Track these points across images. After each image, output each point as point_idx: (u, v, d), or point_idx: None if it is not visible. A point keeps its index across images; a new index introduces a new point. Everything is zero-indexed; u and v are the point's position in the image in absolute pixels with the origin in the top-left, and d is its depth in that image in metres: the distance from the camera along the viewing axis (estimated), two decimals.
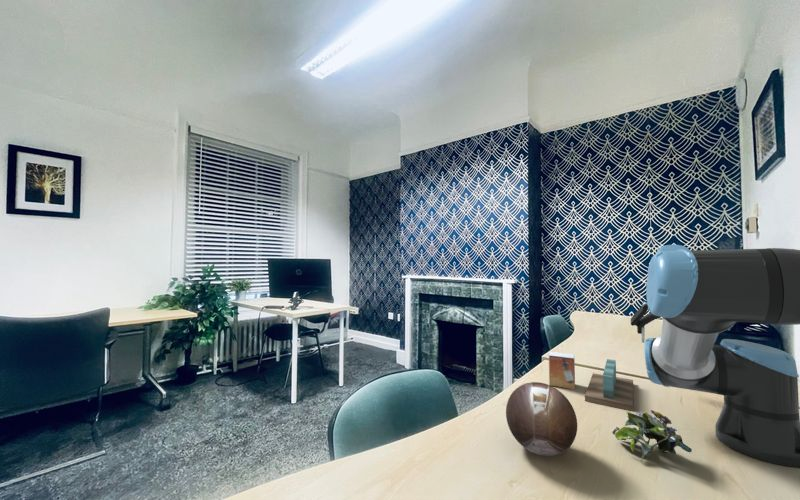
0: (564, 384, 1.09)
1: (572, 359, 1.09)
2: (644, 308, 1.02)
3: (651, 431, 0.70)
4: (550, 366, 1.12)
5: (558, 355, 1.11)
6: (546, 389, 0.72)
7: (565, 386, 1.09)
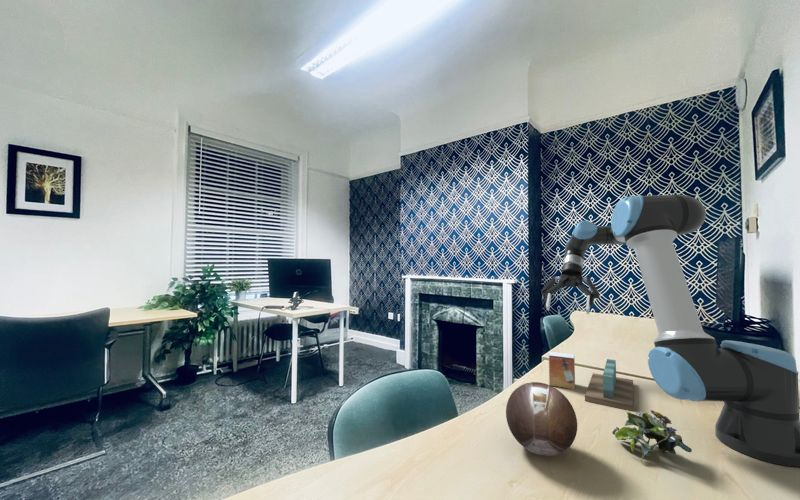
0: (564, 384, 1.09)
1: (572, 359, 1.09)
2: (553, 276, 1.33)
3: (651, 431, 0.70)
4: (550, 366, 1.12)
5: (558, 355, 1.11)
6: (546, 389, 0.72)
7: (565, 386, 1.09)
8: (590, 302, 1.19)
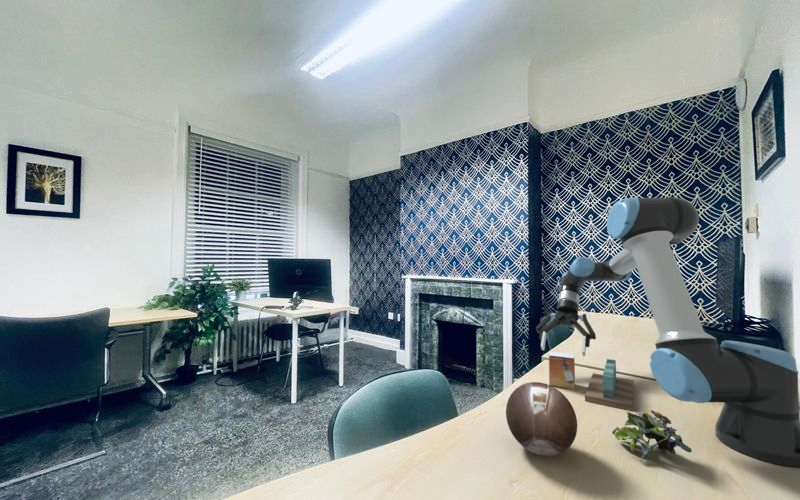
0: (564, 384, 1.09)
1: (572, 359, 1.09)
2: (548, 313, 1.30)
3: (651, 431, 0.70)
4: (550, 366, 1.12)
5: (558, 355, 1.11)
6: (546, 389, 0.72)
7: (565, 386, 1.09)
8: (586, 344, 1.15)
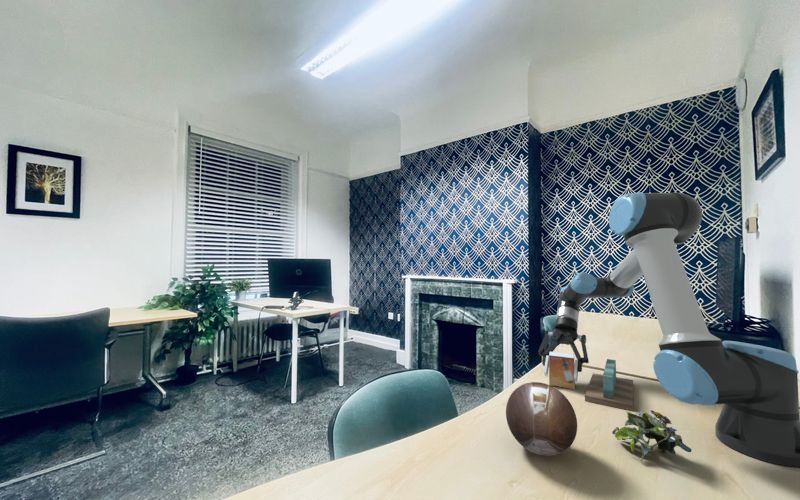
0: (564, 384, 1.09)
1: (572, 359, 1.09)
2: (545, 333, 1.22)
3: (651, 431, 0.70)
4: (550, 366, 1.12)
5: (558, 355, 1.11)
6: (546, 389, 0.72)
7: (565, 386, 1.09)
8: (578, 368, 1.08)
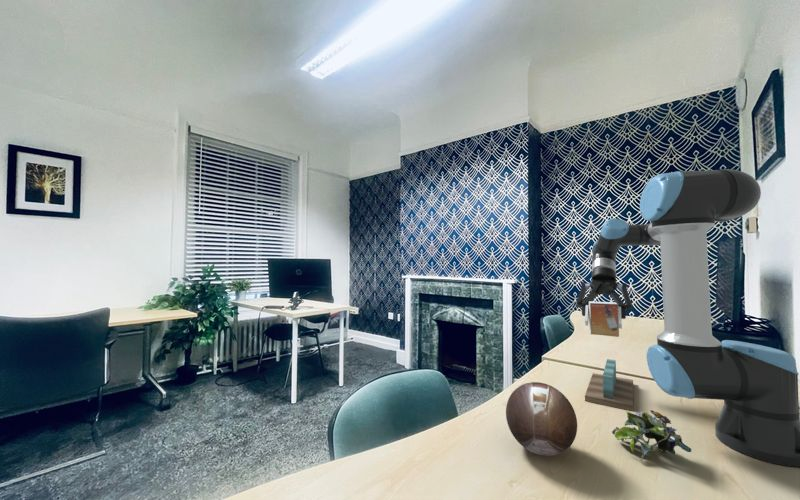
0: (607, 332, 1.04)
1: (616, 305, 1.03)
2: (582, 284, 1.17)
3: (651, 431, 0.70)
4: (591, 314, 1.06)
5: (600, 302, 1.06)
6: (546, 389, 0.72)
7: (608, 334, 1.04)
8: (622, 315, 1.03)
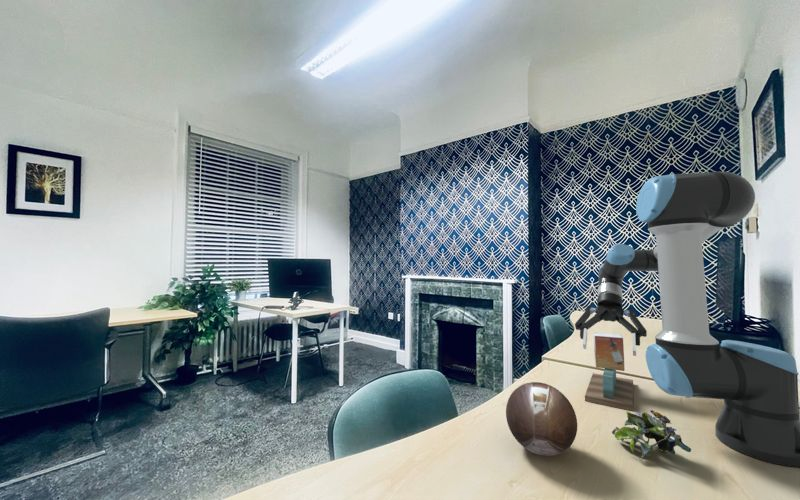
0: (613, 366, 1.03)
1: (621, 339, 1.02)
2: (587, 308, 1.16)
3: (651, 431, 0.70)
4: (596, 347, 1.05)
5: (604, 335, 1.05)
6: (546, 389, 0.72)
7: (613, 368, 1.03)
8: (637, 342, 1.02)
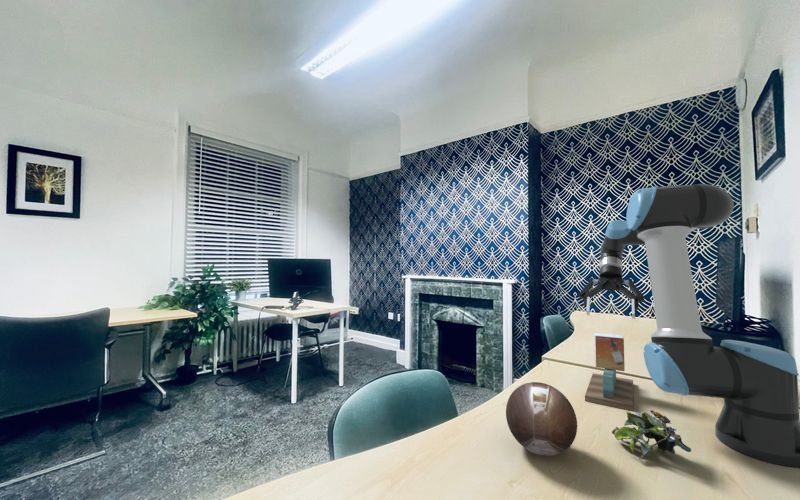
0: (613, 366, 1.03)
1: (621, 339, 1.02)
2: (590, 279, 1.27)
3: (650, 431, 0.70)
4: (597, 347, 1.05)
5: (605, 335, 1.05)
6: (546, 389, 0.72)
7: (614, 368, 1.03)
8: (635, 306, 1.12)
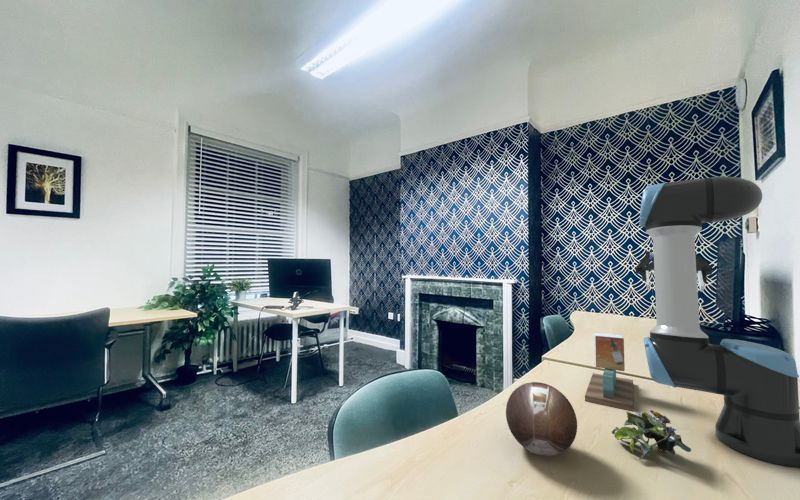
0: (613, 366, 1.03)
1: (621, 339, 1.02)
2: (647, 253, 1.18)
3: (650, 431, 0.70)
4: (597, 347, 1.05)
5: (605, 335, 1.05)
6: (546, 389, 0.72)
7: (614, 368, 1.03)
8: (703, 278, 1.04)
